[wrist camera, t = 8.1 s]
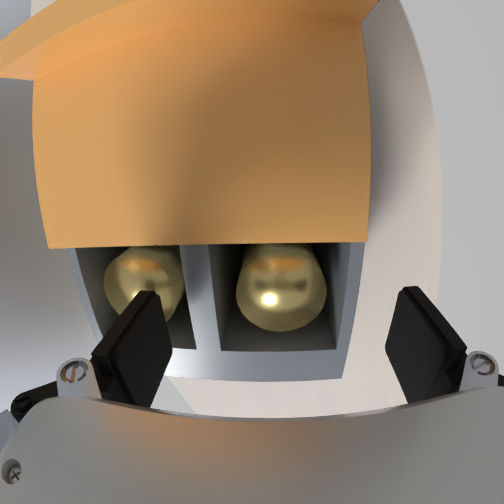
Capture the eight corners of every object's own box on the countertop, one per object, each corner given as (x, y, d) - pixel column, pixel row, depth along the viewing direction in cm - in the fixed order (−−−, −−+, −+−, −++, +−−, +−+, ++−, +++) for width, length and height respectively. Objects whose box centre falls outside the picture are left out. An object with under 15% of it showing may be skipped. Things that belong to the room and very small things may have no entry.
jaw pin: (249, 207, 20) (233, 253, 12) (304, 206, 20) (329, 252, 11) (251, 258, 21) (239, 331, 13) (303, 258, 21) (322, 330, 13)
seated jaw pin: (159, 211, 20) (95, 256, 12) (209, 208, 20) (168, 254, 12) (166, 260, 22) (115, 324, 13) (214, 259, 22) (182, 329, 13)
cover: (59, 54, 8) (0, 41, 4) (343, 6, 7) (374, -47, 3) (69, 236, 11) (12, 272, 7) (353, 227, 10) (394, 273, 6)
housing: (134, 81, 17) (53, 54, 8) (318, 63, 16) (355, 5, 7) (157, 292, 23) (107, 365, 14) (318, 292, 22) (341, 378, 13)
